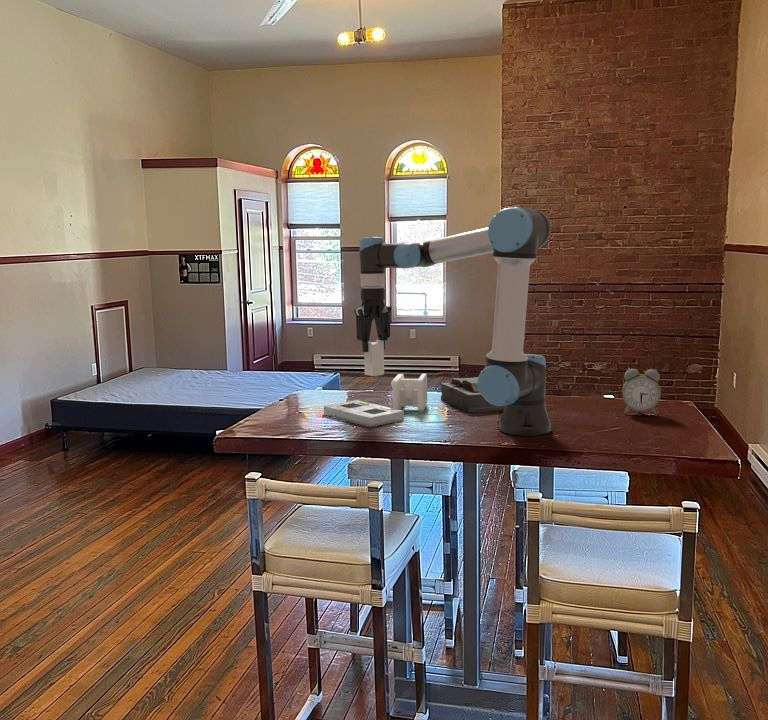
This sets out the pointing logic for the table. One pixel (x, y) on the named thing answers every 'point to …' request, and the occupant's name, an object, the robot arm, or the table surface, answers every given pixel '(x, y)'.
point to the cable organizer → (409, 392)
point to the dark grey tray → (466, 395)
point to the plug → (375, 360)
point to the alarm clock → (641, 390)
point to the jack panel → (364, 413)
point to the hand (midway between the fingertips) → (374, 361)
